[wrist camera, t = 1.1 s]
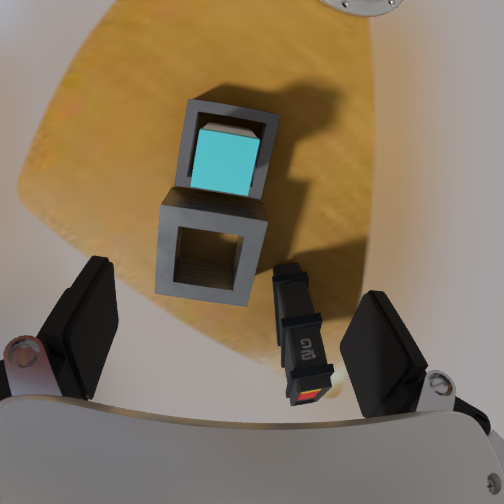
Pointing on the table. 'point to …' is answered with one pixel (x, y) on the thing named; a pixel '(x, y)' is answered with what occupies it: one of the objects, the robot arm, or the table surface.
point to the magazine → (299, 336)
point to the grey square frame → (199, 106)
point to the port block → (204, 272)
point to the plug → (225, 158)
